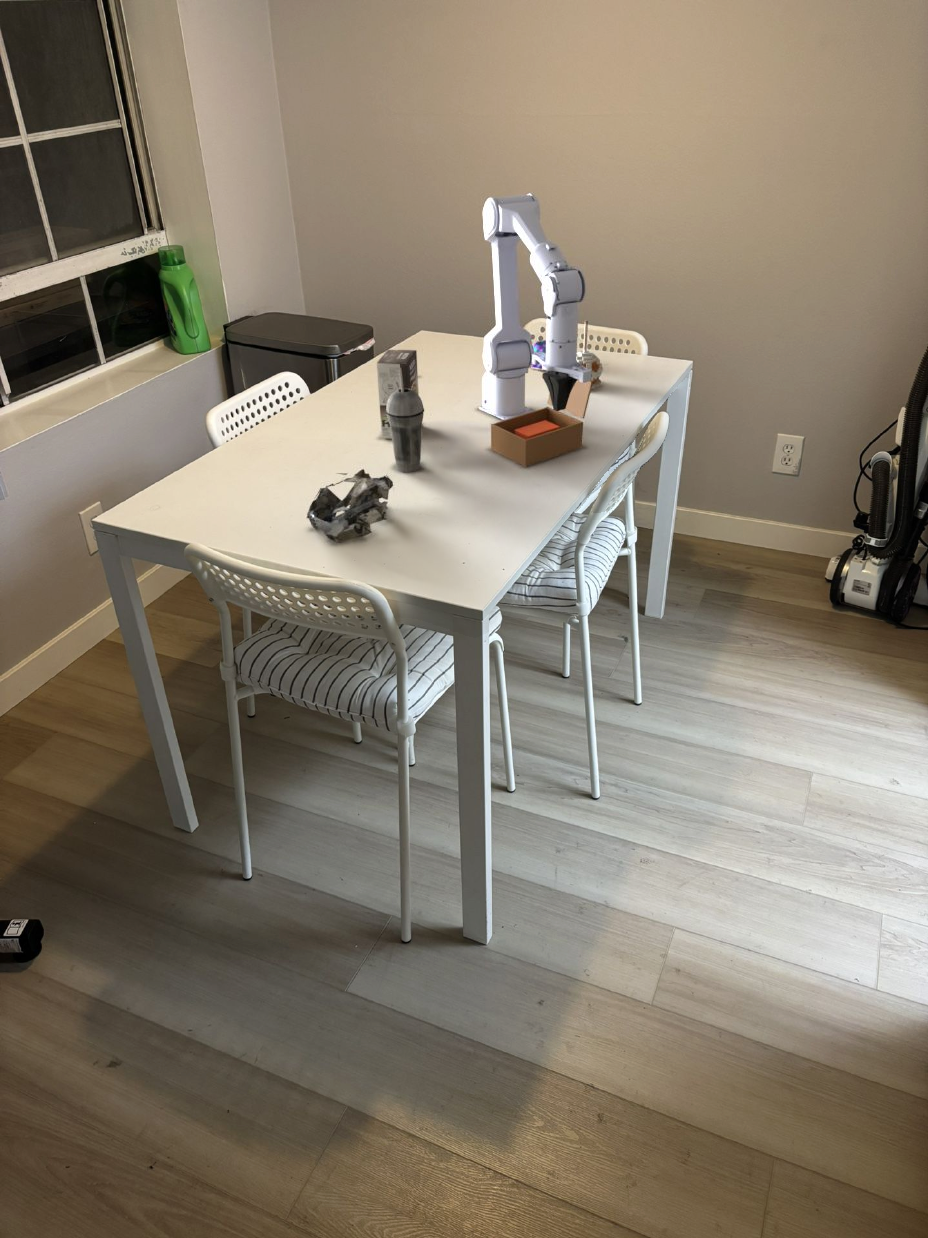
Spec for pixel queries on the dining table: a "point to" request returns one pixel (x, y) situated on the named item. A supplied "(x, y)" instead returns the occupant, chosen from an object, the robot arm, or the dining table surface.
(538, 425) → the block
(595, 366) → the decorative ornament
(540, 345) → the pudding
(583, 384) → the flap
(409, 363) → the coffee box
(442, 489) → the dining table surface
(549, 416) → the box
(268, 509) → the dining table surface
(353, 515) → the foil
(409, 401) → the beverage cup
